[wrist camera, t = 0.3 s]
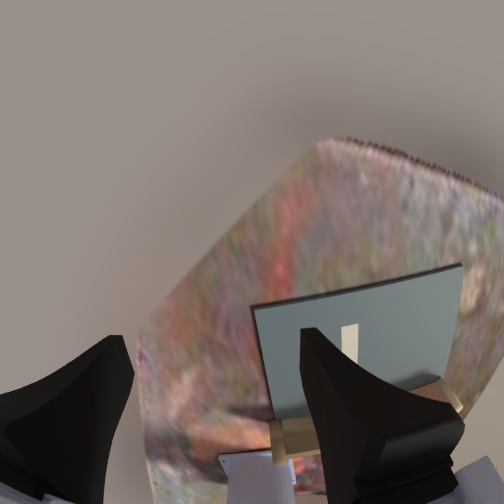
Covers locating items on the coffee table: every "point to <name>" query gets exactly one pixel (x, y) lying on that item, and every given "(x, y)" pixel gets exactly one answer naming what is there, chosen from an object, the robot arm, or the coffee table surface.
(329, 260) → the coffee table surface
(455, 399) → the fence panel
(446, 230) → the coffee table surface
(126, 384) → the robot arm
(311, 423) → the fence frame
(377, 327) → the card
